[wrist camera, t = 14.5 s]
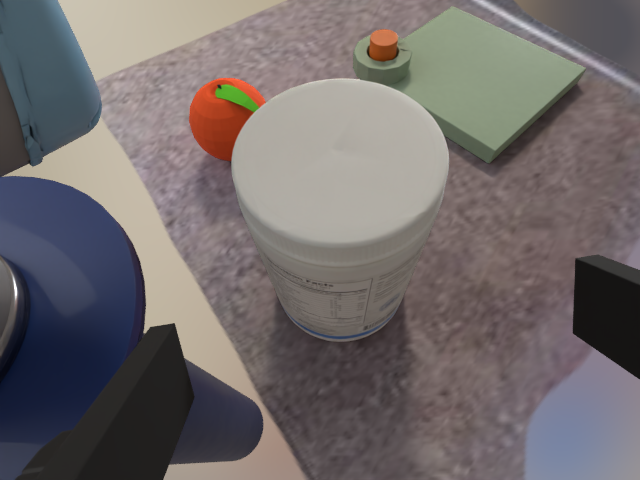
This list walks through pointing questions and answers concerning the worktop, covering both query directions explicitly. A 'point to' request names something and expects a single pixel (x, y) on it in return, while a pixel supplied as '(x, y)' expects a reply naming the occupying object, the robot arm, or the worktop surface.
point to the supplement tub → (340, 199)
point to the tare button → (383, 45)
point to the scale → (473, 79)
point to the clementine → (222, 114)
